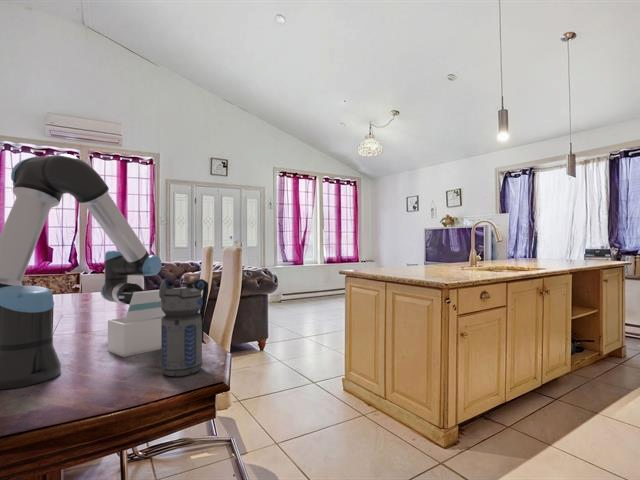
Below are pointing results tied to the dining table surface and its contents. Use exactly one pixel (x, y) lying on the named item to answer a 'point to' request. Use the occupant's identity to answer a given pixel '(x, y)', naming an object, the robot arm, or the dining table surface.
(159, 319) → the box
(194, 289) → the beverage bottle
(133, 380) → the dining table surface
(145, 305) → the lid
